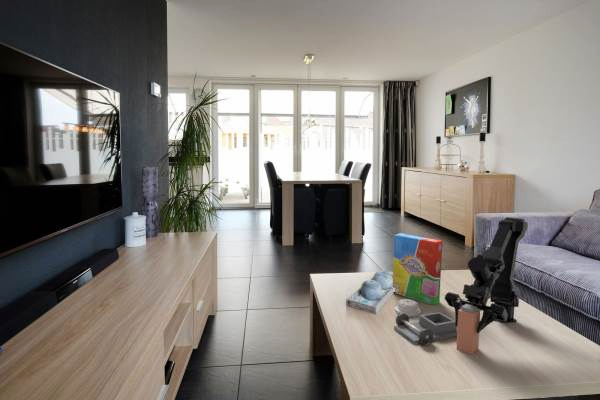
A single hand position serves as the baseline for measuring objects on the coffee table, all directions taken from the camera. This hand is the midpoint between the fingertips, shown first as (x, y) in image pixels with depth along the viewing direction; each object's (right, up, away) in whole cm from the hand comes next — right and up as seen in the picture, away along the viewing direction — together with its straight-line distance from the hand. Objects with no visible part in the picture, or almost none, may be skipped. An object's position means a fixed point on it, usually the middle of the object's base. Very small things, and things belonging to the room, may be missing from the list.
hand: (466, 329), depth 125 cm
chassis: (-7, -6, +14) cm, 17 cm away
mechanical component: (-10, -4, +32) cm, 34 cm away
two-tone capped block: (+1, -7, +2) cm, 7 cm away
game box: (-2, -2, +48) cm, 48 cm away
